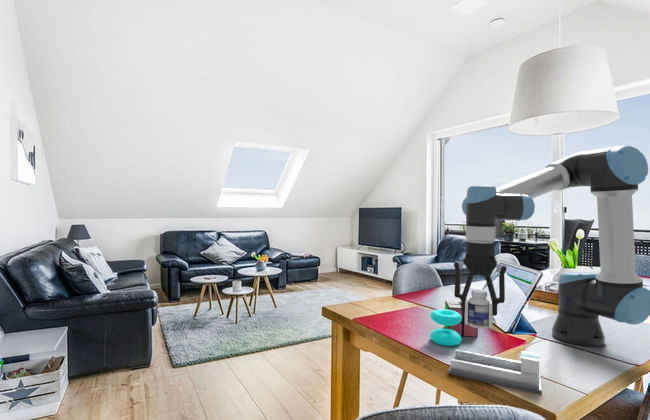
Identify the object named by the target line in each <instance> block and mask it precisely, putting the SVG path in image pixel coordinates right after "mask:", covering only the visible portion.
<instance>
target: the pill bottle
mask: <svg viewBox="0 0 650 420" xmlns="http://www.w3.org/2000/svg"><path fill="white" fill-rule="evenodd" d="M468 299H469V308H468V324H469V325H470V326H471V327H474V328H478V329H483V330H484V329H485V330H486V329H489V303H490V302H491V301H490V300H489V299H488V291H486V290H483V289H471V297H469V298H468Z"/></svg>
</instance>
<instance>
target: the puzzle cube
mask: <svg viewBox="0 0 650 420" xmlns="http://www.w3.org/2000/svg"><path fill="white" fill-rule="evenodd" d="M444 304H445V305H444V306H445V307H444V309H447V310H452V311H456V312H458V313H459V314H460V315H461V317H462V320H461V322H460V323H459V324H457V325H452V326H447V325H444V327H445V328H444V329H450V330H453V331H456V332H457V333H458V334H459V335H460V336H461V337H471V338H478V337H479V336H478V334H479V328H474V327H471V326H470V325H469V324H468V325H466V324H465V312H464V311H461V301H457V300H456V301H455V300H445V302H444Z"/></svg>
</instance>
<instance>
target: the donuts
mask: <svg viewBox="0 0 650 420" xmlns="http://www.w3.org/2000/svg"><path fill="white" fill-rule="evenodd" d="M430 318H431V321H433V322H434V323H436V324H438V325H441V326H445V325H447V326H452V325H457V324H459V323H460V322H461V320H462V317H461V315H460V314H459V313H458V312H456V311H452V310H447V309H445V308H444V309H443V308H441V309H435V310H432V312H431V313H430ZM429 336H430V340H431V341H432V342H434V343H435V344H438V345H440V346H443V347H444V346H445V347H452V346H453V347H456V346H458V345H460V344H461V342H462V336H460V335H459V334H458V333H457V332H456V331H453V330H450V329H446V328H435V329H434V330H432V331H431V332H430V335H429Z"/></svg>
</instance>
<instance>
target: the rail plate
mask: <svg viewBox="0 0 650 420" xmlns="http://www.w3.org/2000/svg"><path fill="white" fill-rule="evenodd" d="M447 373H448V375H451V376H455V377H459V378H460V377H461V378H466V379H469V380H473V381H474V380H475V381H479V382H483V383H488V384H492V385H495V386H496V385H497V386H502V387H506V388H510V387H511V389H516V390H520V391H524V392H528V393H529V392H530V393H534V394H538V395H542V394H543V393H542V392H543V391H542V389H543V388H542V382H541V372H540V371H539V376H537V375H532V374H527V373H522V372H521V360H515V359H509V358H504V357H499V356H493V355H488V354H484V353H483V354H482V353H477V352H472V351H466V350H461V349H455V352H454V356H453V358H451V360H450V366H449V368H448V371H447Z"/></svg>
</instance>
